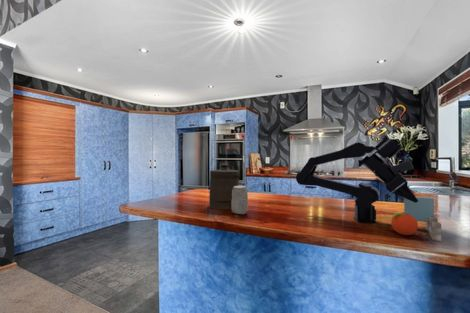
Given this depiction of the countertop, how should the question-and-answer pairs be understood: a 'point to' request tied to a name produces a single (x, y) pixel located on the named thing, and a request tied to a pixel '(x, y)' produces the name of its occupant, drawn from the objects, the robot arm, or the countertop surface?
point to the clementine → (404, 223)
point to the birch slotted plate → (434, 228)
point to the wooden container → (222, 187)
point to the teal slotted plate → (420, 208)
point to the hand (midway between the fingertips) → (416, 199)
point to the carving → (239, 199)
